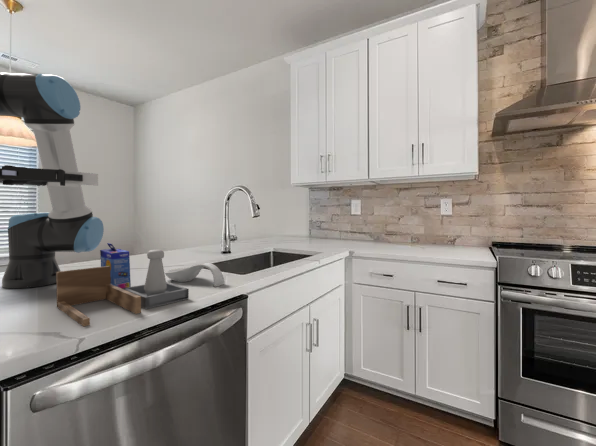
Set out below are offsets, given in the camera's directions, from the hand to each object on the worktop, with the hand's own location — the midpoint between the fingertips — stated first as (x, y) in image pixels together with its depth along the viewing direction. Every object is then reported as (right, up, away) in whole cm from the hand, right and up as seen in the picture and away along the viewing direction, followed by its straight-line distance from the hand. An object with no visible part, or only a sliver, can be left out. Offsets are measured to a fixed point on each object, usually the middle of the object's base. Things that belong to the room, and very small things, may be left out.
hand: (87, 181), depth 78 cm
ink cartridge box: (-5, -31, +20) cm, 37 cm away
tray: (+13, -32, +9) cm, 36 cm away
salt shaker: (+13, -31, +9) cm, 35 cm away
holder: (+3, -32, -1) cm, 32 cm away
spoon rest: (+16, -32, +31) cm, 47 cm away
